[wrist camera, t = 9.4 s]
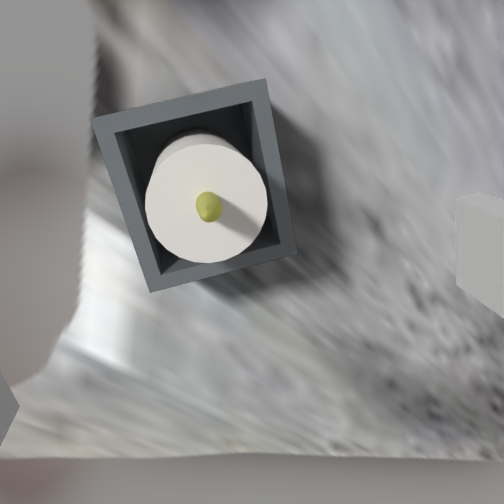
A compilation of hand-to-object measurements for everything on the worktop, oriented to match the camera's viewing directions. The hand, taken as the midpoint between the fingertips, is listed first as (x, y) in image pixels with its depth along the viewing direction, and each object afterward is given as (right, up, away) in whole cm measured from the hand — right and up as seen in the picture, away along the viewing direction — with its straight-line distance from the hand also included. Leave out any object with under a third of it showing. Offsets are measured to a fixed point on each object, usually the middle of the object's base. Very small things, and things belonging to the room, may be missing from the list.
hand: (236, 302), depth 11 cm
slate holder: (-4, +8, +21) cm, 22 cm away
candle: (-4, +7, +20) cm, 22 cm away
